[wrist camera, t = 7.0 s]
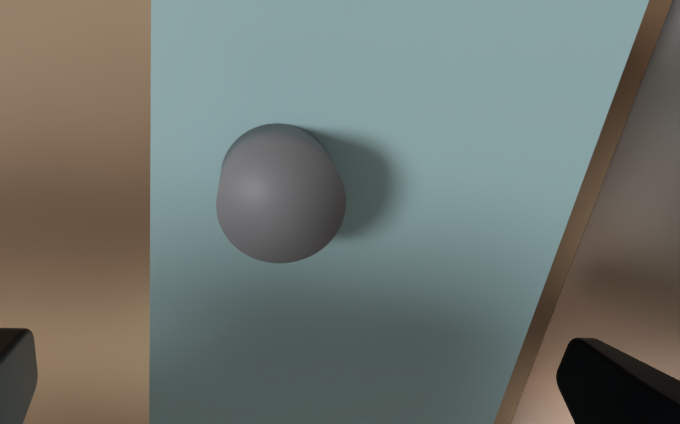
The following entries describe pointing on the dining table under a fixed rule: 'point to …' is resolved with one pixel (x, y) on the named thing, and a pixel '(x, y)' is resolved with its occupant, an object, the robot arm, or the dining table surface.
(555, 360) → the dining table surface
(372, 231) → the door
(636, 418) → the robot arm
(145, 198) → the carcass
